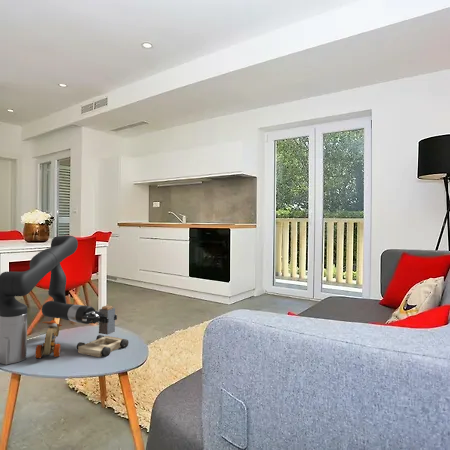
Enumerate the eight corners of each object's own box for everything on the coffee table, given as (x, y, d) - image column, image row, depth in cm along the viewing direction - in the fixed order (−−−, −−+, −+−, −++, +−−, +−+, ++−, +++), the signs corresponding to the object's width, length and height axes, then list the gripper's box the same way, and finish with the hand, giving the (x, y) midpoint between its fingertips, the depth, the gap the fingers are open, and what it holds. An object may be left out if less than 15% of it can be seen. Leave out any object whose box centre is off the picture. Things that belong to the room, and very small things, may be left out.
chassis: (103, 358, 137) (103, 349, 137) (74, 352, 143) (74, 344, 143) (129, 345, 151) (129, 338, 151) (102, 340, 157) (103, 333, 157)
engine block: (107, 334, 146) (107, 308, 146) (98, 333, 148) (99, 306, 148) (114, 331, 150) (115, 305, 150) (106, 330, 152) (106, 304, 152)
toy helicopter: (34, 361, 132) (34, 324, 132) (45, 343, 152) (46, 311, 152) (58, 359, 135) (58, 323, 135) (66, 342, 155) (66, 310, 155)
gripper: (68, 309, 148) (100, 314, 141) (93, 302, 161) (123, 306, 155) (68, 326, 148) (99, 332, 142) (93, 318, 161) (123, 323, 155)
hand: (112, 318), depth 148 cm, fingers closed on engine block, 4 cm apart
